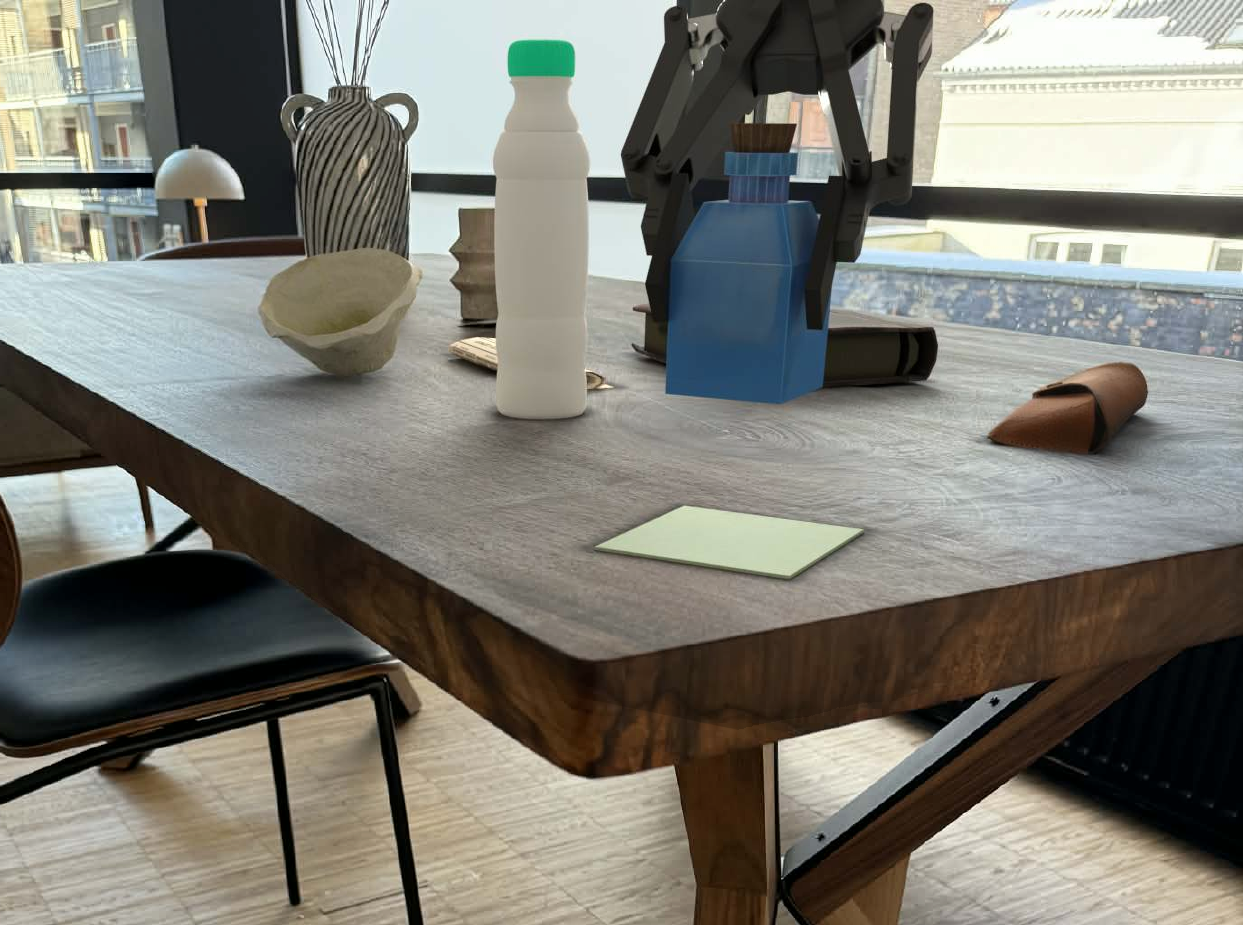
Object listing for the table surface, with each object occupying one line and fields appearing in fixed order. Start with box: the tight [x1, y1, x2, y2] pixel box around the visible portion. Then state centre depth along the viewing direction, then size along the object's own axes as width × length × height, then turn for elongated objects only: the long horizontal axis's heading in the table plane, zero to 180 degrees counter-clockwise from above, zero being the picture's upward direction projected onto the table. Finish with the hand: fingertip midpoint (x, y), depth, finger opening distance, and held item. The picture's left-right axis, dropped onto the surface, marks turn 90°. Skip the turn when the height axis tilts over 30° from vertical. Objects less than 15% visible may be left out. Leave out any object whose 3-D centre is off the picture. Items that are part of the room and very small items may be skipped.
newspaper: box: [448, 336, 615, 390], centre depth 130 cm, size 24×7×2 cm, turn 23°
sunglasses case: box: [986, 361, 1149, 455], centre depth 106 cm, size 18×7×7 cm, turn 152°
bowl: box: [257, 247, 424, 377], centre depth 128 cm, size 15×14×10 cm
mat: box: [594, 505, 865, 580], centre depth 77 cm, size 11×11×1 cm
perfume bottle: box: [664, 122, 833, 405], centre depth 71 cm, size 6×6×12 cm
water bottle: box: [492, 38, 591, 420], centre depth 106 cm, size 7×7×25 cm
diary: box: [631, 303, 939, 388], centre depth 132 cm, size 19×25×5 cm
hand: (734, 306), depth 69 cm, fingers closed on perfume bottle, 7 cm apart
